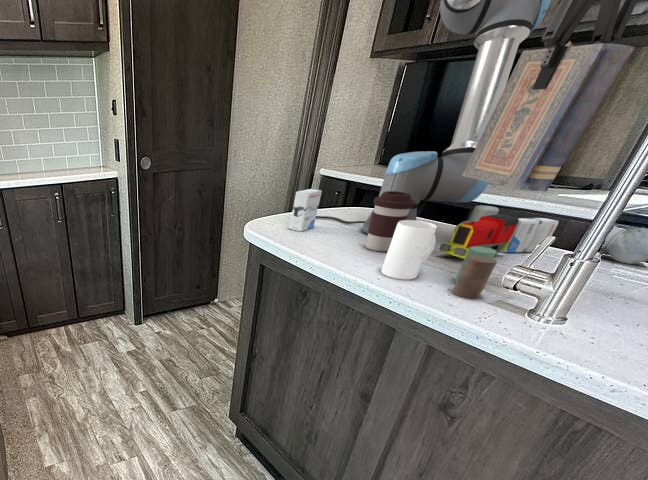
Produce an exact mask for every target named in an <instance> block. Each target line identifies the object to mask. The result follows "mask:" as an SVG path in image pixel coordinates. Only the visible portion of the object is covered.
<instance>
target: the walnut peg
mask: <svg viewBox="0 0 648 480" xmlns="http://www.w3.org/2000/svg"><path fill="white" fill-rule="evenodd" d="M497 263H498V260H497V259H495V258H490V257H486V256H479V255H472V256H469V257H468V259H467V262H466V264H465V266H464V268H463V270H462V272H461V274H460V276H459V279H458V281H457V283H456V282H455V285H454V287H453V289H452V293H453V294H454V295H455V296H458V297H460V298H465V299H478V298H480V296H481V294H482V292H483V291H484V288H485V286H486V284H487V282H488V280H489V279H490V276H491V275H492V273H493V271H494V269H495V267H496V265H497Z"/></svg>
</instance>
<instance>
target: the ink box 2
mask: <svg viewBox="0 0 648 480" xmlns="http://www.w3.org/2000/svg"><path fill="white" fill-rule="evenodd" d="M517 218H518V217H517ZM518 219H519V222H518V225H517V226H516V228H515V230H514V232H513V234H512V236H511V238H510V240H509V242H510V244H509V246H508V248H506V250H505V251H502V250H500V251H502V252H503V253H507V254H509V253H534V252H533V251H534V250H535V248H536V246H537V245H539V244H540V243H541V242H542V241H543V240H544V239H545V238H546V237H550V236H551V238H552V237H553V234H554V232H555V231H556V229H557V228H558V225H559V220H556V219H551V218H545V217H521V218H518Z"/></svg>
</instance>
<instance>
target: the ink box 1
mask: <svg viewBox="0 0 648 480" xmlns="http://www.w3.org/2000/svg"><path fill="white" fill-rule="evenodd" d="M322 192H323V190H321V189H313V188H308V189H307V188H306V189H303V190H298V191H295V196H294V202H293V207H292V211H291V217H290V222H289V227H288V229H290V230H293V231H298V232H305V231H306V230H310V229H313V228H314V227H315V223H316V219H317V218H316V216H317V214H318V210H319V205H320V201H321V197H322Z"/></svg>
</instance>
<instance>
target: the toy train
mask: <svg viewBox="0 0 648 480" xmlns="http://www.w3.org/2000/svg"><path fill="white" fill-rule="evenodd" d="M518 222H519V219H518V217H515V216H511V215H507V214H501V213H497V214H496V215H489V216H482V217H481V218H480V219H479V221H475V222H469V223H462V222H461V223H462V224H460V223H459V224H460V225H459V226H457V225H456V226H457V227H456V226H455V227H456V229H455V228H454V229H455V232H454V231H453V234H452V236H451V239H450V240H449V241H443V242H441V243H440V245H439V247H438V250H439V253H440V252H441V253H444V254H447V255H449V256H453V257H456V258H460V259H463V260H464V259H465V257H466V255H467V253H468V251H469V249H470V247H473V246H479V247H486V248H491V249H494V250H496V251H497V252H496V254H500V253H502V252H503V251H505V250H506V248H508V246H509V244H510V242H509V240H510V238H511V236H512V234H513V232H514V230H515V228H516V226H517V225H518ZM500 250H502V251H500Z"/></svg>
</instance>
